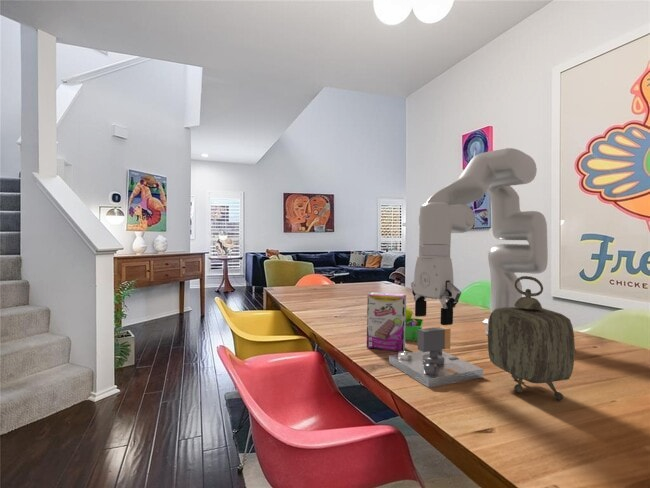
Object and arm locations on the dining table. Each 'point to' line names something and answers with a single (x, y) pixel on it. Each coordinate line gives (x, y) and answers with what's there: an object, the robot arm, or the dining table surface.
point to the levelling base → (441, 369)
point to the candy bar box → (386, 321)
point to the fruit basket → (412, 326)
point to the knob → (433, 343)
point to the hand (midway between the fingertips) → (432, 320)
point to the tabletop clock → (531, 341)
